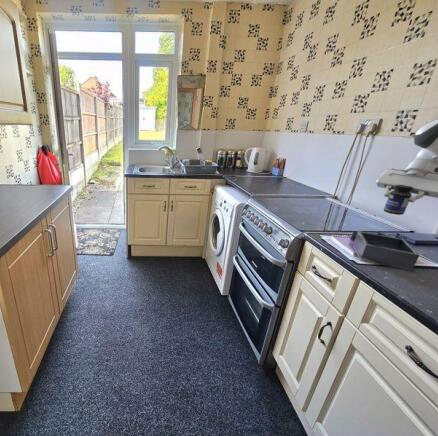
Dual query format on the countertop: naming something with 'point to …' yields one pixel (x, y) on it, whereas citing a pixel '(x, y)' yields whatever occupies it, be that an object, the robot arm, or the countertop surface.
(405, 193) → the pill bottle
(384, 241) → the dark grey square box
